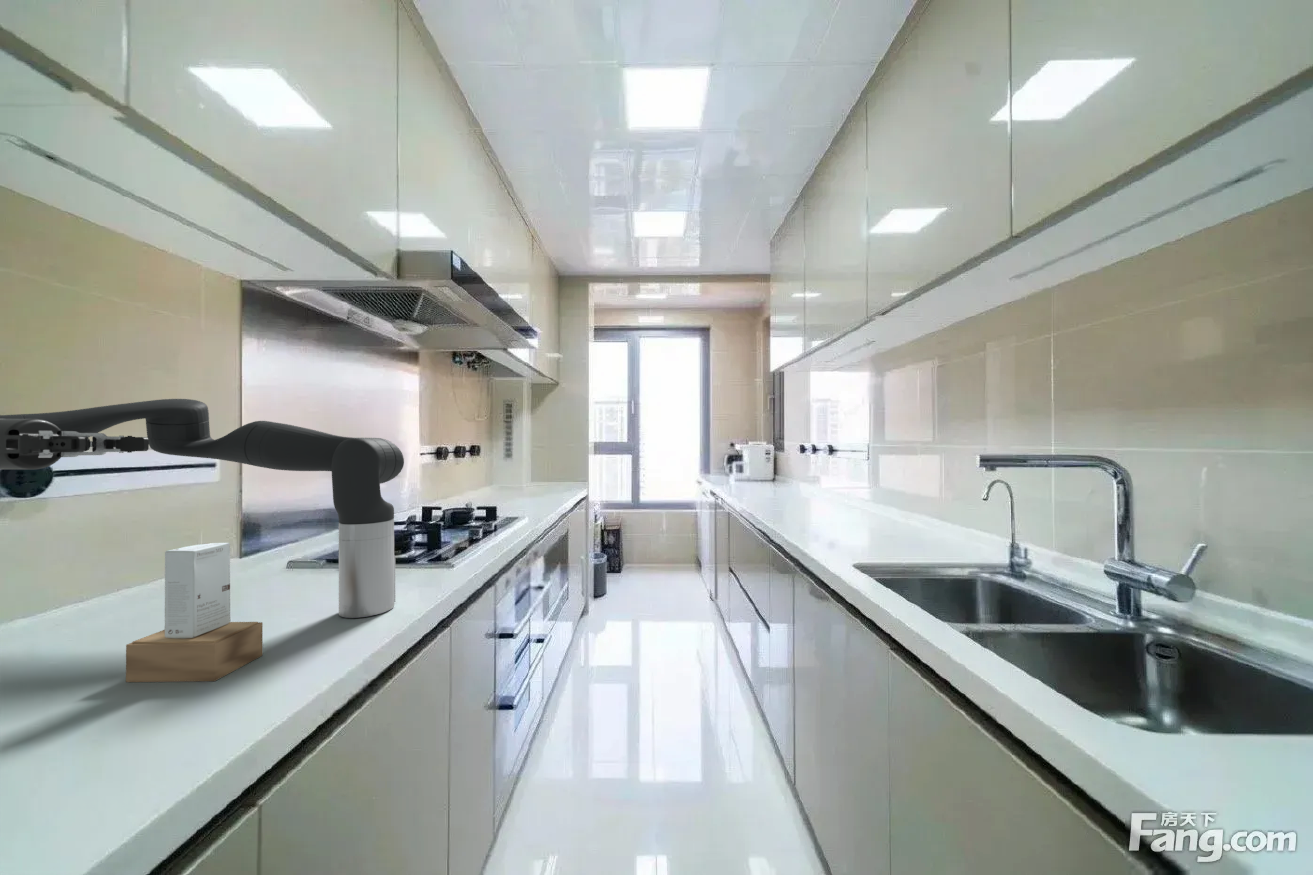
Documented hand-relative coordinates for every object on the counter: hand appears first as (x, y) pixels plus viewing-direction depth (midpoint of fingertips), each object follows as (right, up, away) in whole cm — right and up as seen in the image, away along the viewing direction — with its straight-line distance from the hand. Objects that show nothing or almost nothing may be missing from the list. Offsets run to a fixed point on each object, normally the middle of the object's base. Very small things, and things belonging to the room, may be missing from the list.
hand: (116, 444), depth 72 cm
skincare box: (+14, -27, -2) cm, 30 cm away
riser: (+14, -32, -2) cm, 35 cm away
